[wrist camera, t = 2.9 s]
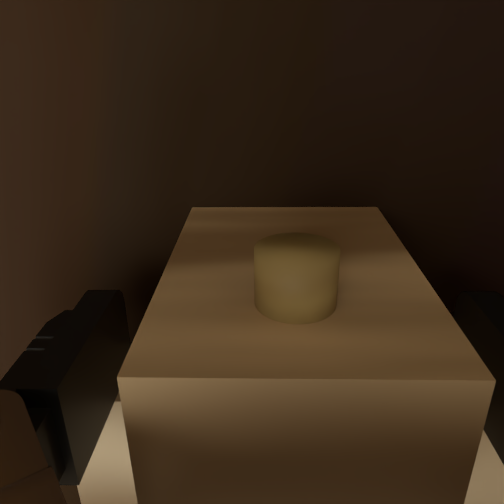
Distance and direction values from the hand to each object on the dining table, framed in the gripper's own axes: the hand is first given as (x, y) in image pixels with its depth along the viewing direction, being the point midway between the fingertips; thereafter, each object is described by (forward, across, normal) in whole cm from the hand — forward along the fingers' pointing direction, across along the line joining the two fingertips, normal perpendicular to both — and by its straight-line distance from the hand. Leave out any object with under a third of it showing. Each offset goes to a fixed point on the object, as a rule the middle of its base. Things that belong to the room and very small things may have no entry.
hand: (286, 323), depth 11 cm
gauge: (+2, 0, +4) cm, 4 cm away
